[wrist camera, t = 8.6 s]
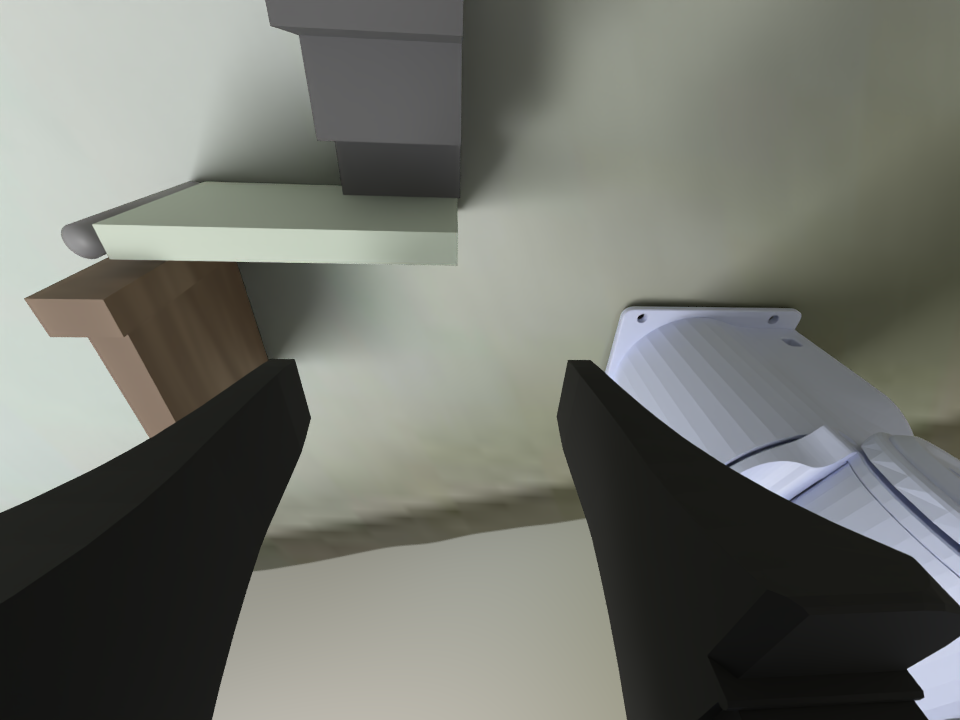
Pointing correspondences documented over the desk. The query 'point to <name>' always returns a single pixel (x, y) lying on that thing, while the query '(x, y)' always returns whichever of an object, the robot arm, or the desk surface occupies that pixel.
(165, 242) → the door
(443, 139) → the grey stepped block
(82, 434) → the desk surface
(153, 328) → the door frame
